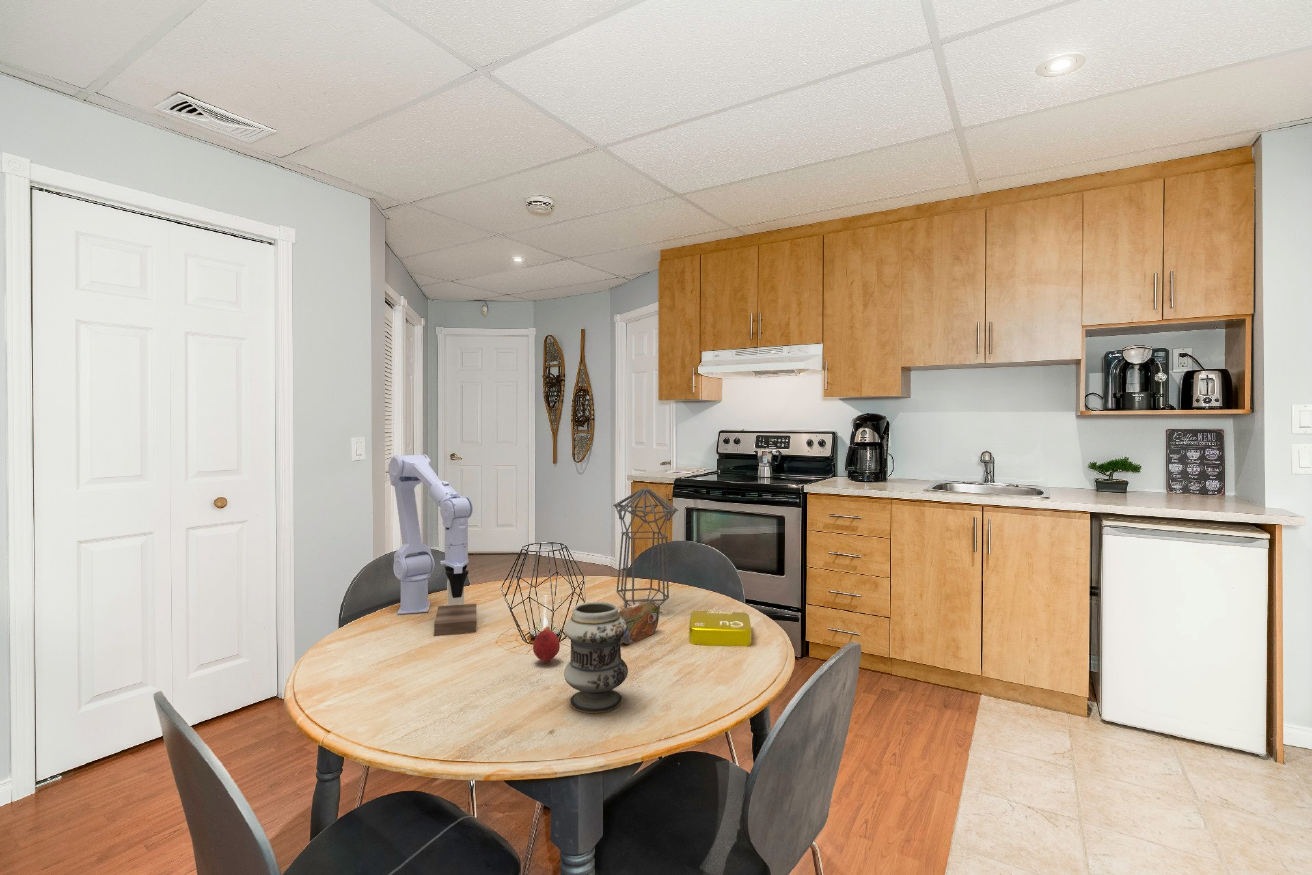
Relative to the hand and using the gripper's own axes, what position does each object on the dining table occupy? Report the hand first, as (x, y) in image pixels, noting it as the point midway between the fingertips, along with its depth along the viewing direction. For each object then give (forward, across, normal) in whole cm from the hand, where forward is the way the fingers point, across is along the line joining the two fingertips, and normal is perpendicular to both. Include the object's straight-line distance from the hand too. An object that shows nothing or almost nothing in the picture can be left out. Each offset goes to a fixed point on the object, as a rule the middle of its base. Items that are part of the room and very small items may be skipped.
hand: (456, 595), depth 161 cm
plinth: (+8, 0, 0) cm, 8 cm away
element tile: (+8, +32, +61) cm, 69 cm away
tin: (+8, +27, +41) cm, 49 cm away
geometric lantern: (+8, +6, +51) cm, 52 cm away
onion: (+8, +35, +17) cm, 39 cm away
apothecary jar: (+8, +57, +22) cm, 62 cm away
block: (+2, 0, 0) cm, 2 cm away
